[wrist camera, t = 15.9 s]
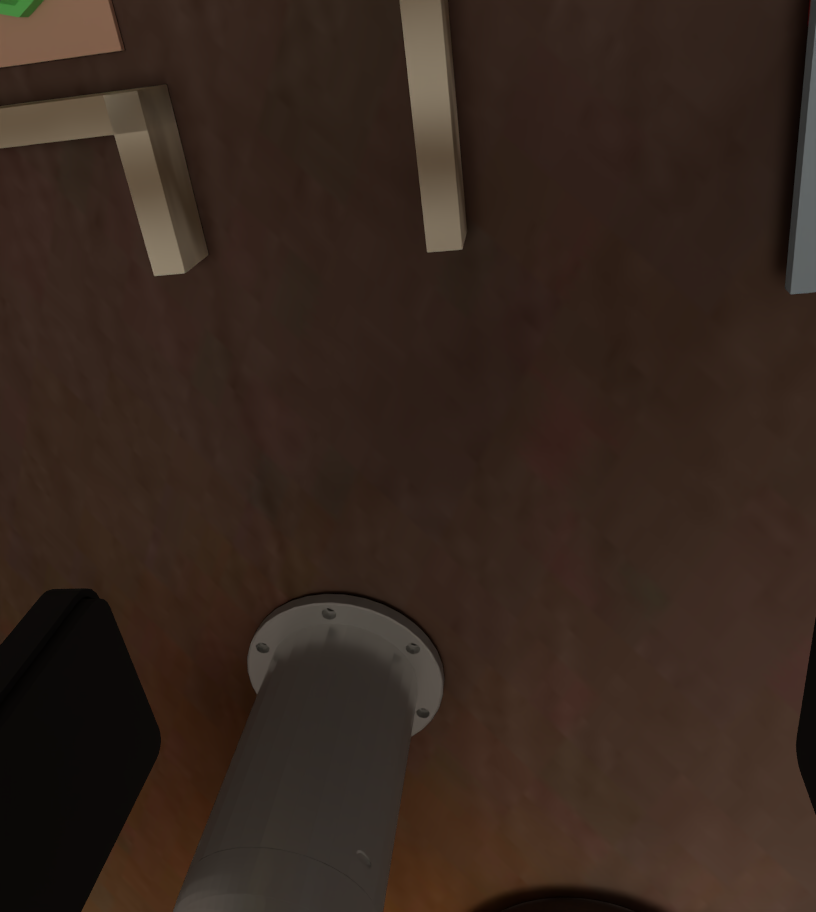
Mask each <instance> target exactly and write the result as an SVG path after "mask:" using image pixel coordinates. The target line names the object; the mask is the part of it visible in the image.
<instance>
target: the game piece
mask: <svg viewBox="0 0 816 912" xmlns="http://www.w3.org/2000/svg"><path fill="white" fill-rule="evenodd" d="M43 1H44V0H0V14H3V15H8V16H14V17H29V16H30V15H31V14H32V13H33V12H34V11H35V10H36V9H37V7H38V6H39V5H40V4H41V3H42V2H43Z"/></svg>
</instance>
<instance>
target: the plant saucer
mask: <svg viewBox="0 0 816 912" xmlns="http://www.w3.org/2000/svg"><path fill="white" fill-rule="evenodd" d="M501 912H635V911H632V910H630V909H627V908H624V907H621V906H618V905H615V904H611V903H607V902H603V901H597V900H591V899H583V898H546V899H538V900H533V901H528V902H524V903H521V904H518V905H515V906H512V907H509V908H507V909H505V910H503V911H501Z"/></svg>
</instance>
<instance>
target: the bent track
mask: <svg viewBox="0 0 816 912" xmlns="http://www.w3.org/2000/svg"><path fill="white" fill-rule="evenodd" d="M400 8H401V18H402V27H403V36H404V45H405V54H406V63H407V73H408V82H409V91H410V100H411V109H412V118H413V128H414V137H415V146H416V155H417V164H418V173H419V183H420V192H421V201H422V210H423V219H424V228H425V238H426V247H427V253H428V252H440V251H451V250H462V249H463V245H464V241H465V238H466V234H467V224H466V212H465V200H464V188H463V176H462V164H461V152H460V140H459V128H458V116H457V104H456V92H455V80H454V68H453V56H452V44H451V32H450V20H449V8H448V0H400ZM122 50H125V49H124V45H123V41H122V38H121V34H120V30H119V26H118V23H117V19H116V15H115V11H114V7H113V4H112V0H44V1H43V2H42V3H41V4H40V5H39V6H38V7H37V9H36V10H35V11H34V12H33V13H32V14H31V15H30V16H29V17H14V16H8V15H3V14H0V68H2V67H9V66H16V65H23V64H30V63H37V62H44V61H51V60H59V59H66V58H73V57H80V56H87V55H94V54H101V53H108V52H115V51H122ZM106 135H114V136H115V139H116V143H117V146H118V150H119V154H120V157H121V161H122V164H123V168H124V171H125V175H126V178H127V182H128V185H129V189H130V192H131V196H132V199H133V203H134V206H135V210H136V213H137V217H138V220H139V224H140V227H141V231H142V235H143V238H144V242H145V245H146V249H147V252H148V256H149V259H150V263H151V266H152V270H153V273H154V276H159V275H171V274H183V273H186V272H187V271H189V270H190V269H191V268H193V267H194V266H195V265H196V264H198V263H199V262H200V261H202V260H203V259H204V258H205V257H207V256H208V255H209V254H208V250H207V246H206V242H205V238H204V234H203V230H202V226H201V222H200V218H199V213H198V209H197V205H196V201H195V197H194V193H193V189H192V185H191V181H190V177H189V173H188V169H187V165H186V161H185V157H184V153H183V148H182V144H181V140H180V136H179V132H178V128H177V124H176V120H175V116H174V112H173V108H172V104H171V100H170V96H169V92H168V87H167V84H164V85H157V86H149V87H142V88H134V89H126V90H119V91H111V92H104V93H96V94H88V95H81V96H73V97H66V98H58V99H50V100H43V101H35V102H28V103H20V104H12V105H5V106H0V148H7V147H16V146H24V145H32V144H40V143H49V142H57V141H65V140H73V139H82V138H90V137H98V136H106Z"/></svg>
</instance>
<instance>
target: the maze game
mask: <svg viewBox="0 0 816 912" xmlns="http://www.w3.org/2000/svg"><path fill="white" fill-rule="evenodd" d="M807 26H808V37H807V48H806V59H805V70H804V81H803V92H802V103H801V114H800V125H799V136H798V148H797V159H796V170H795V181H794V192H793V203H792V214H791V225H790V236H789V247H788V258H787V269H786V281H785V289H786V290H787V291H788V292H789V293H790V294H800V293H811V292H816V0H809V11H808V22H807Z"/></svg>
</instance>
